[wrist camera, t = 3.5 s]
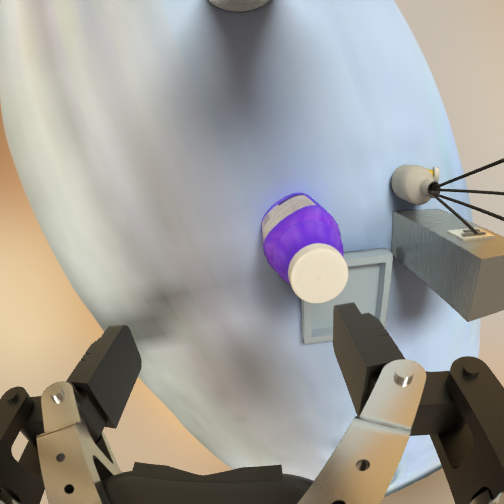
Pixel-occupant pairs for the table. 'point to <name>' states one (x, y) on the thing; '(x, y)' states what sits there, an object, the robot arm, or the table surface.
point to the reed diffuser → (433, 187)
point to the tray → (352, 293)
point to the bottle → (305, 248)
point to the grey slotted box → (452, 259)
